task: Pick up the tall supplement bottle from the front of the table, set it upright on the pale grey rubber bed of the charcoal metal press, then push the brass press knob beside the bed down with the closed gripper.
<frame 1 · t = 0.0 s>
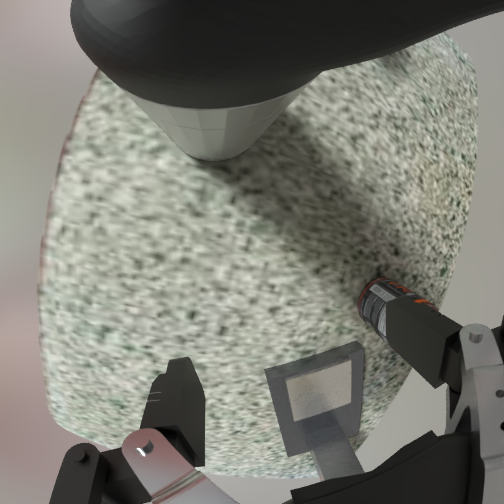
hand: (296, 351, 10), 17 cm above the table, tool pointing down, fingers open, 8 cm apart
supplement bottle: (375, 298, 30), on the table
press: (317, 404, 33), on the table
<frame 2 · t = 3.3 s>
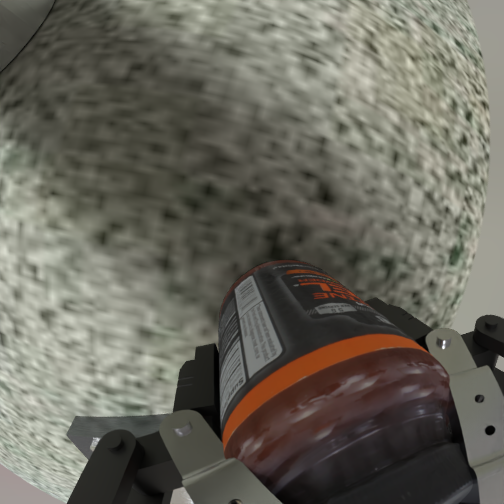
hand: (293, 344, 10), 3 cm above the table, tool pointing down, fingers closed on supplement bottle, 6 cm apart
supplement bottle: (278, 314, 13), on the table, touching gripper
press: (199, 484, 15), on the table
when the fingers open (7 cm above the table, at t = 9.0 s): supplement bottle drops 1 cm, resting on press.
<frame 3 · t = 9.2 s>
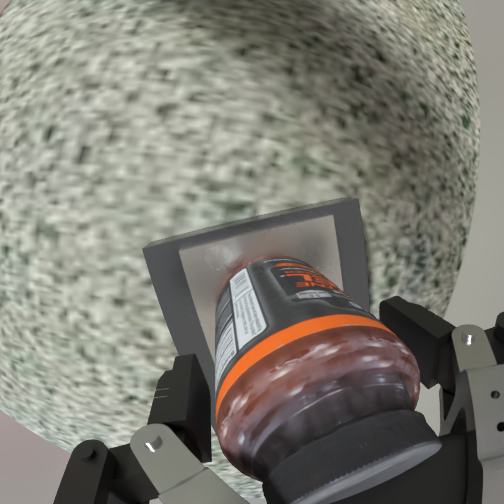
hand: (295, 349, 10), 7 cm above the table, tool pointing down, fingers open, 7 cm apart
supplement bottle: (270, 304, 14), point 2 cm above the table, touching press
press: (279, 354, 18), on the table
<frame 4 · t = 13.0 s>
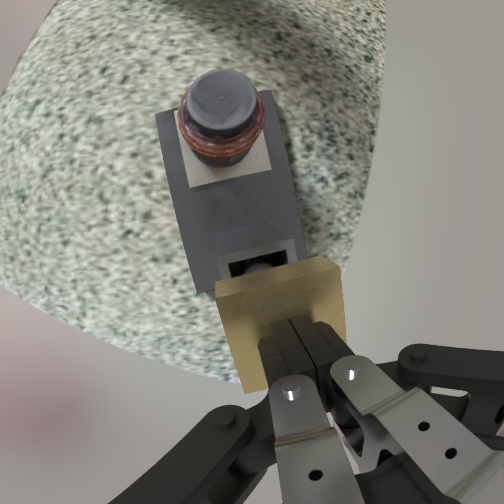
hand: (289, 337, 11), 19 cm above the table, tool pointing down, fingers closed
supplement bottle: (220, 138, 24), point 2 cm above the table, touching press
plunger: (265, 289, 17), point 13 cm above the table, slide at 0.0 cm, touching gripper
press: (231, 188, 28), on the table
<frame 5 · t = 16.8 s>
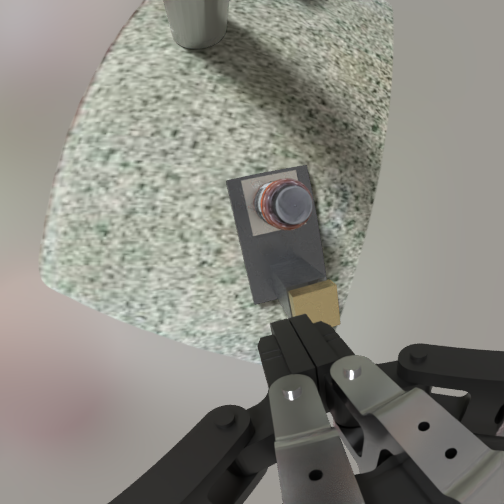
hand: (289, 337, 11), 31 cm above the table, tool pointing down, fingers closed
supplement bottle: (273, 202, 38), point 2 cm above the table, touching press
plunger: (302, 293, 34), point 9 cm above the table, slide at 4.0 cm
press: (278, 234, 42), on the table
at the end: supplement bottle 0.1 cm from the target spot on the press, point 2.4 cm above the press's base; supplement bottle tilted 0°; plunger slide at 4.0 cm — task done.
